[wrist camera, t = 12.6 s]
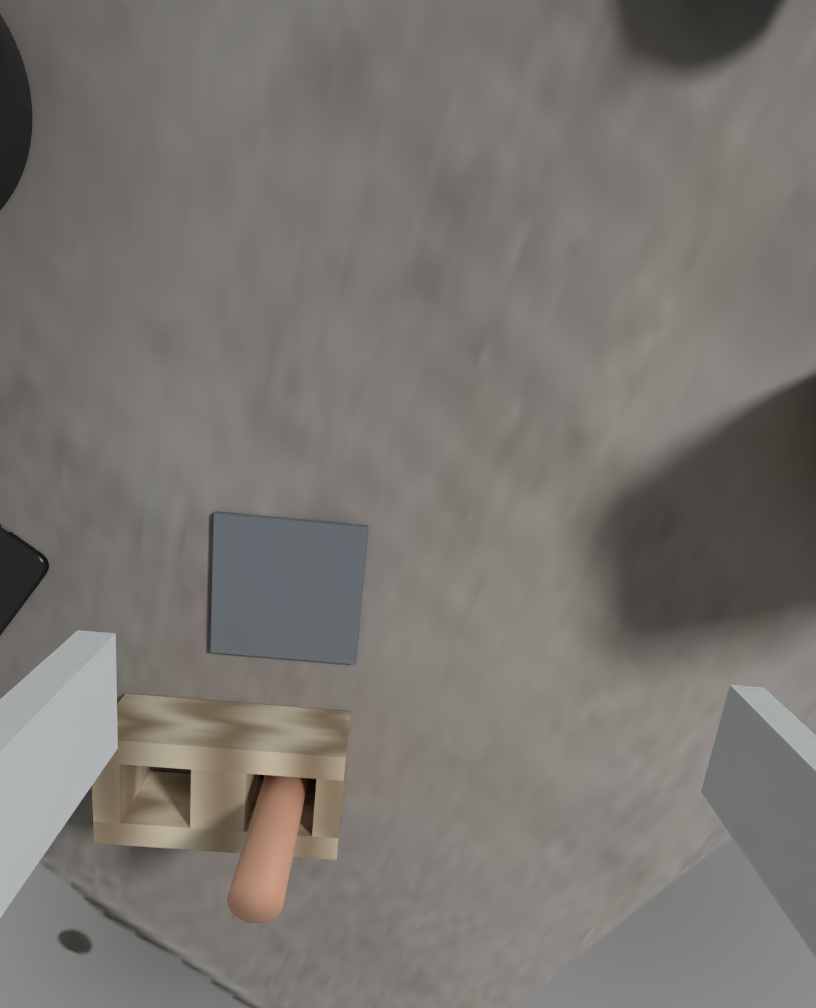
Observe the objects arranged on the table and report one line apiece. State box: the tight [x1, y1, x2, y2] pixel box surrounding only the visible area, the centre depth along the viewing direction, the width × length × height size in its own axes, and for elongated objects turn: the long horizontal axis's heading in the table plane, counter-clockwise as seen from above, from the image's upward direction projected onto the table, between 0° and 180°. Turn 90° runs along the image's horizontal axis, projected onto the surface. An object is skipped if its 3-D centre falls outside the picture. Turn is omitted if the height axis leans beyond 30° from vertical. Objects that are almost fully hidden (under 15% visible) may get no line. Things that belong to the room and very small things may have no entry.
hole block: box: [92, 694, 351, 860], centre depth 41 cm, size 16×8×5 cm, turn 84°
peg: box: [227, 775, 309, 923], centre depth 38 cm, size 3×3×12 cm
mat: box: [210, 512, 368, 664], centre depth 40 cm, size 10×10×1 cm
